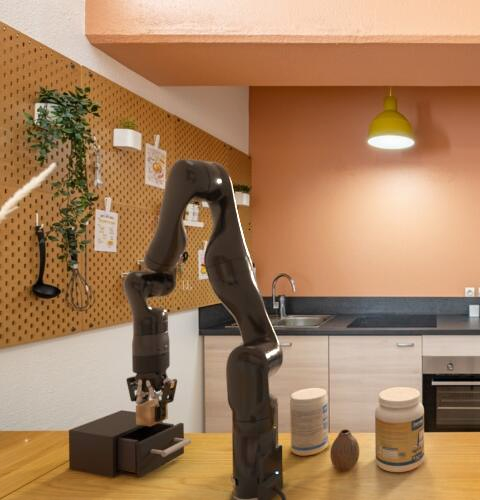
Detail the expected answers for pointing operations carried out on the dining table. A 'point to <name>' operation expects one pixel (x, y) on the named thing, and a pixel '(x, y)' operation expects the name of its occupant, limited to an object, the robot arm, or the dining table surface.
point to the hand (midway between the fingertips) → (152, 419)
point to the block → (147, 413)
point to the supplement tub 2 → (399, 429)
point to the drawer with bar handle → (150, 447)
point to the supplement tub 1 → (309, 421)
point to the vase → (344, 451)
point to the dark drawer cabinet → (100, 443)
